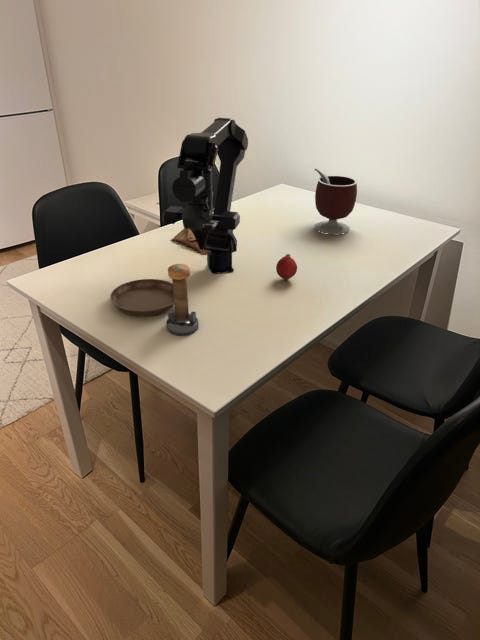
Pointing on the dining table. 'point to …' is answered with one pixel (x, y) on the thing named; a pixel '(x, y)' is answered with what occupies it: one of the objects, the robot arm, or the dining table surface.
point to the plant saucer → (143, 297)
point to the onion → (286, 267)
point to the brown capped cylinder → (180, 290)
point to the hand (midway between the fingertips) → (202, 249)
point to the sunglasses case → (188, 240)
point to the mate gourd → (334, 201)
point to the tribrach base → (182, 324)
